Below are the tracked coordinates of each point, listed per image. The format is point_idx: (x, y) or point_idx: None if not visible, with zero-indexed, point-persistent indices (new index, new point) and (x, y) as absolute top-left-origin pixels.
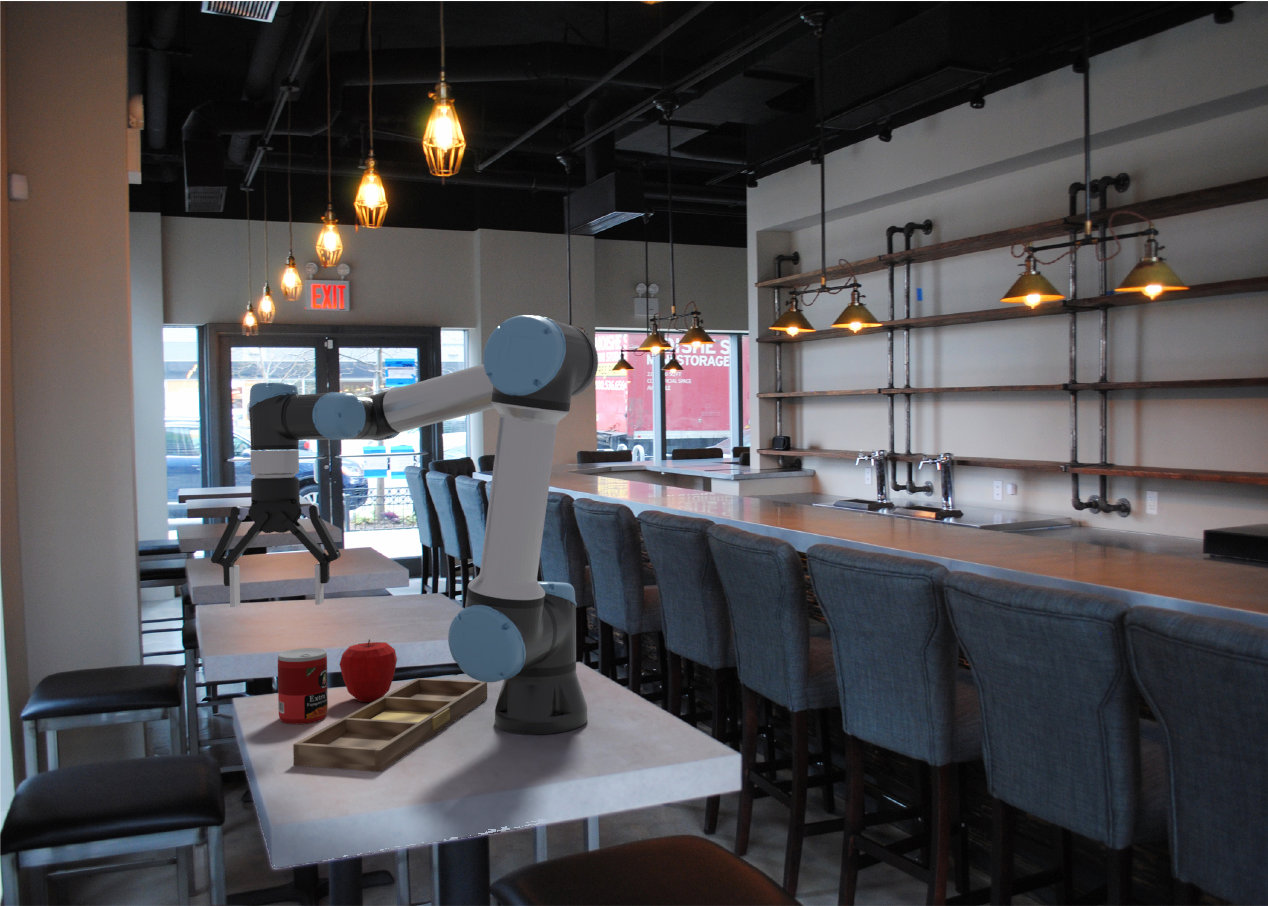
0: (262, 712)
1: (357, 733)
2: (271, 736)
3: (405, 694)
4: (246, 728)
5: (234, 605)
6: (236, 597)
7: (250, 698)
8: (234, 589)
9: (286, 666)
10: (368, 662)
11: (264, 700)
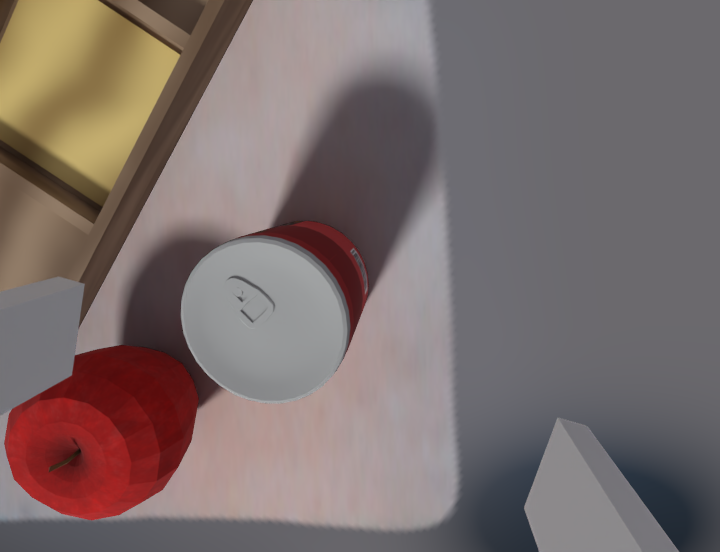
0: (409, 372)
1: (177, 26)
2: (385, 141)
3: None
4: (445, 239)
5: (562, 423)
6: (562, 482)
7: (439, 515)
8: (601, 488)
9: (322, 257)
10: (89, 363)
11: (405, 482)
